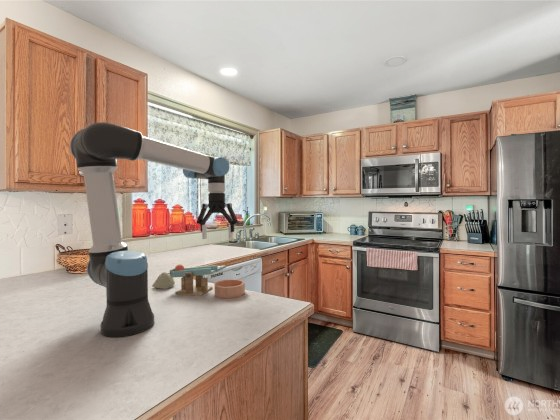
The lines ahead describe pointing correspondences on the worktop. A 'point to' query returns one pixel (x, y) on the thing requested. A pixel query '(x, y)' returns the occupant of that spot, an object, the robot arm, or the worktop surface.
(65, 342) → the worktop surface
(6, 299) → the worktop surface
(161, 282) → the seashell
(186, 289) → the stand
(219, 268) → the lever
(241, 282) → the bowl
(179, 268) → the ball
